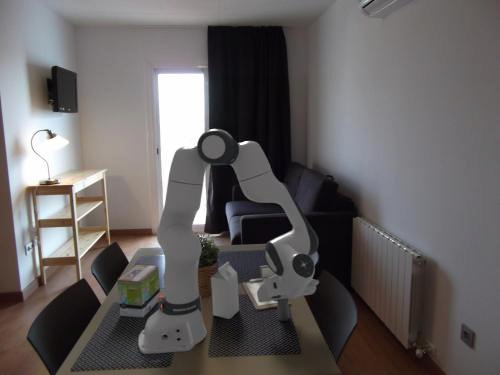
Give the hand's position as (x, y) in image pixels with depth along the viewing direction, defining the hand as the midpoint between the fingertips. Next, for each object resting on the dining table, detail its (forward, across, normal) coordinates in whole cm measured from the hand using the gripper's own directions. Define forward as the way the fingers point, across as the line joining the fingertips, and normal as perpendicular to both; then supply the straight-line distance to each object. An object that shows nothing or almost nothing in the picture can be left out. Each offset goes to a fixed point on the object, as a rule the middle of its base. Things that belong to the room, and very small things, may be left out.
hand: (282, 298), depth 136 cm
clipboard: (+19, +1, -8) cm, 21 cm away
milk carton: (+12, +19, -1) cm, 23 cm away
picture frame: (+29, -5, -18) cm, 34 cm away
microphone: (+5, 0, +6) cm, 7 cm away
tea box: (+23, +50, -12) cm, 56 cm away
